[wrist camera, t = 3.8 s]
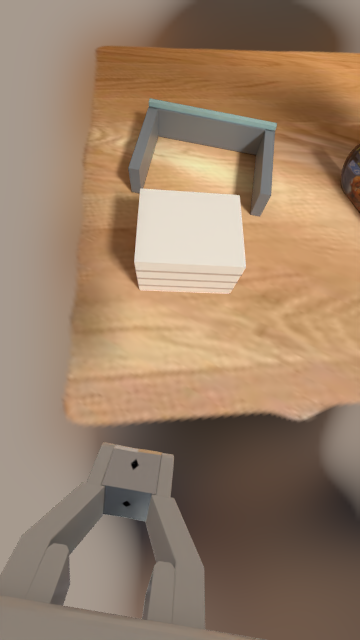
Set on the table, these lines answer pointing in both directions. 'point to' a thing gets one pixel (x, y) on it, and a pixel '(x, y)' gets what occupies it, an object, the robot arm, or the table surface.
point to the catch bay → (207, 141)
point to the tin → (352, 177)
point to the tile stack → (189, 241)
